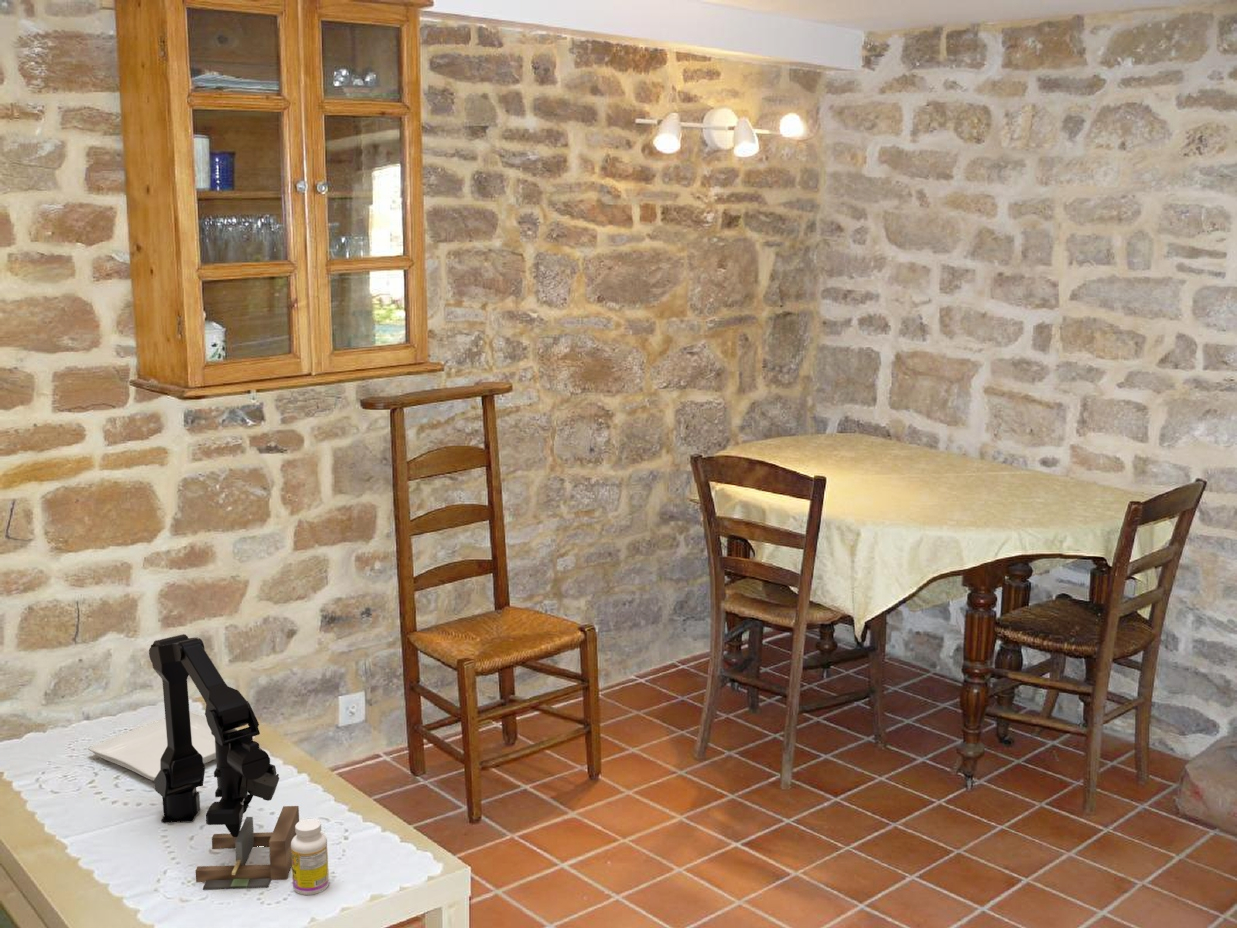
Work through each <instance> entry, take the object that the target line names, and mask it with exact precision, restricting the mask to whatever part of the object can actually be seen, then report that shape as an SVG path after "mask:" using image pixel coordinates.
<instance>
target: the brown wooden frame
mask: <svg viewBox="0 0 1237 928" xmlns="http://www.w3.org/2000/svg"><path fill="white" fill-rule="evenodd" d="M299 808H300V807H299V805H287V806H286V805H284V806H283V807H282V809H281V811H280V814H279V816H278V818H277V822H276V823H275V826H274V828H273V831H272V832H268V831H267V832H254V846H253V847H257V846H258V847H259V846H264V847H263V848H269V849H268V850H269V864H268V863H267V864H264V863H262V864H246V865H239V867H238V870H237V872H236V874H235V875H232V871H233V869H234V866H235V864H233V865H206V866H205V865H203V866H202V865H201V866H197V867H196V868H195V883H204V885H203V887H202V890H203V891H209V890H212V891H213V890H240V889H241V890H243V889H247V890H248V889H268V888H269V886H270V883H271V881H278V880H280V881H281V880H287V881H288V877H289V875H290V872H291V871H292V858H291V841H292V839H293V838H294V836H296V835H297V834H296V832H295V825H296V824H297V823H298V822H299V821H300V810H299ZM236 839H237V837H232V835H231V834H230V833H214V834H213V835H212V837H211V846H212V850H217V849H218V850H221V849H223V850H224V848H228V849H235V841H236Z"/></svg>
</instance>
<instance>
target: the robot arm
mask: <svg viewBox="0 0 1237 928" xmlns="http://www.w3.org/2000/svg"><path fill="white" fill-rule="evenodd" d="M148 655H149V656H148V657H149V660H150V662H151V663H152V669H153V670H154V671H155V672H156V674H157V675H158V676H159V677H160V679H161V681H162V691H163V693H162V694H163V703H164V707H163V708H164V717H165V719H166V732H167V748H166V750H165V751H164V753H163V755H162V757H161V760H160V771H159V773H158V774H157V776H156V778H155V779H154V781H153V787H154V790H155V793H157V794H159V796H161V798H162V809H163V810H162V811H163V816H162V818H161V819H160V820H161V823H162V824H164V823H165V824H166V823H168V824H169V823H192V822H194V820H195V819H196V816H197V815H198V814H199V812H200V811H201V800H200V792H199V791H197V788H199V787H202V786H203V785H204V780H205V773H206V768H205V767H206V766H205V764H203V757H202V755H201V754H199V752H198V751H197V750H196V749H195V748H194V747H193V745H192V737H191V724H190V712H191V711H190V702H189V701H190V700H189V688H188V677H190V679H191V680H192V682H193V684H194V685H195V687H196V689H197V690H198V692H199V694H200V696H202V699H203V700H204V703H205V704H206V705H205V710H204V711H205V712H204V716H205V717H206V719H207V723H208V726H209V727H210V729H211V734H212V735H213V736H214V737H215V750H216V759H215V763H216V764H215V765H216V766H215V767H216V768H215V770H214V771H213V777H214V778H216V779H217V780H216V783H217V788H216V789H215V792H214V796H215V798H220V800H219V801H214V802H212V804H210V806H209V808H208V809H207V811H206V813H205V824H206V825H208V826H216V825H217V826H218V825H219V826H221V825H224V826H225V827H226V829H227V830H228V831H229V834H231V835H232V837H237V836H238V834H239V832H240V830H241V828H242V824H243V823H242V822H243V817H244V814H245V813H246V812H247V810H248V807H249V804H250V803H251V802H252V799H253V797H256V798H261V799H263V800H264V801H271V800H272V799H273V797H274V795H275V793H276V789H277V787H278V785H279V781H280V777H279V776H280V775H279V773H277V768H276V765H275V764H271V758H270V756H269V754H268V753H267V751H265V750H264V749H262V748H260V743H259V742H258V741H255V740H254V739H253V736H255V737H256V736H259V735H260V734H261V733H260V729H259V726H260V724H259V721H258V719H257V717H256V715H255V713H254V710H253V707H252V706H251V704H250V702H249V701H248V700H247V699H246V698H245V697H244V696H243V694H242V693H241V692H240V691H239V690H237V689H235V688H233V687H231V686H229V685H228V684H227V683H226V681H225V680H224V678H223V677H222V675H221V673H220V672H219V671H218V669H217V668H216V666H215V664H214V663H213V661H212V659H211V658H210V656H209V655H208V653H207V651H206V650H205V645H204V642H203V640H202V639H201V638H199V637H197V636H195V637H188V636H187V634H185V633H183V634H179V635H174V636H169V637H165V638H161V639H155V640H154V641H153V643H152V644H151V645H150V647H149V650H148ZM247 725H248V727H246V726H247ZM244 726H245V728H241V727H244ZM235 728H236V729H238V730H236V729H235ZM239 728H240V729H239Z"/></svg>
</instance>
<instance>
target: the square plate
mask: <svg viewBox="0 0 1237 928" xmlns="http://www.w3.org/2000/svg"><path fill="white" fill-rule="evenodd" d="M190 724H191V737H192V745H193V747H194V748H195V749H196V750H197V751H198V752H199V754H201V755H202V757H203V764H204V765H205V764H206V763H209V762H212V761H214V760H216V750H215V737H214V736H213V735H212V734H211V729H210V727H209V726H208V723H207V719H206V716H205V715H202V714H199V713H196V712H193V711H190ZM235 729H236V730H239V728H235ZM254 739H256V736H253V740H254ZM166 748H167V732H166V719H165V718H164V717H163V718H161V719H159V720H156V721H153V722H150V723H147V724H145V725H142V726H140V727H137V728H134V729H132V730H129V731H126V732H123V733H122V734H118V735H116V736H113V737H111V738H108V739H106V740H104V741H101V742H98V743H97V744H93V745H92V746H89V747H88V748H87V750H88V751H90V752H92V753H93V755H96V756H97V757H99V758H101V759H102V760H106V761H108V762H110V763H112V764H116V765H118V766H121V767H123V768H125V769H128V770H130V771H132V772H134V773H136V774H139V775H140V776H142V777H144V778H146V779H148V780H151V781H153V782H154V779H155V778H156V776H157V774H158V773H159V771H160V760H161V757H162V755H163V753H164V751H165V750H166Z"/></svg>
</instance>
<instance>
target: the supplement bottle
mask: <svg viewBox="0 0 1237 928" xmlns="http://www.w3.org/2000/svg"><path fill="white" fill-rule="evenodd" d="M295 832H296V834H297V835H296V836H294V838H293V839H292V841H291V858H292V867H291V872H292V873H291V875H292V889H294V891H295V892H296V893H298V894H300V895H305V896H306V895H307V896H308V895H309V896H310V895H316V894H318V893H321V892H323V891H324V890H326V888H327V887H328V886H329V883H330V878H329V877H330V876H329V875H330V874H329V872H330V871H329V857H328V856H329V855H328V838H327V836H326V834H325V833H323V832H322V823H321V821H320V820H318V819H316V818H307V819H302V820H299V822H298V823H297V824H296V825H295Z"/></svg>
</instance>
